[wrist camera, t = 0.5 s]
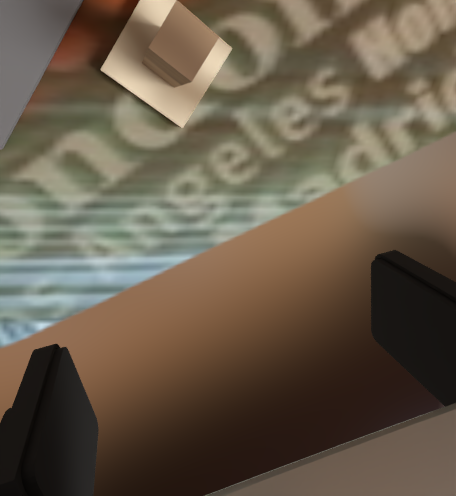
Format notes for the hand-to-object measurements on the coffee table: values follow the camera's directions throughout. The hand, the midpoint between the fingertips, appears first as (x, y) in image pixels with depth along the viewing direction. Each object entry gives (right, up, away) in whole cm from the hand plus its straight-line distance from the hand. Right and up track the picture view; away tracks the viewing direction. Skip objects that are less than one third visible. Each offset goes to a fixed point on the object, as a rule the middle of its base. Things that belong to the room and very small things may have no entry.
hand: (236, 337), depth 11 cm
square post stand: (-6, +19, +21) cm, 29 cm away
